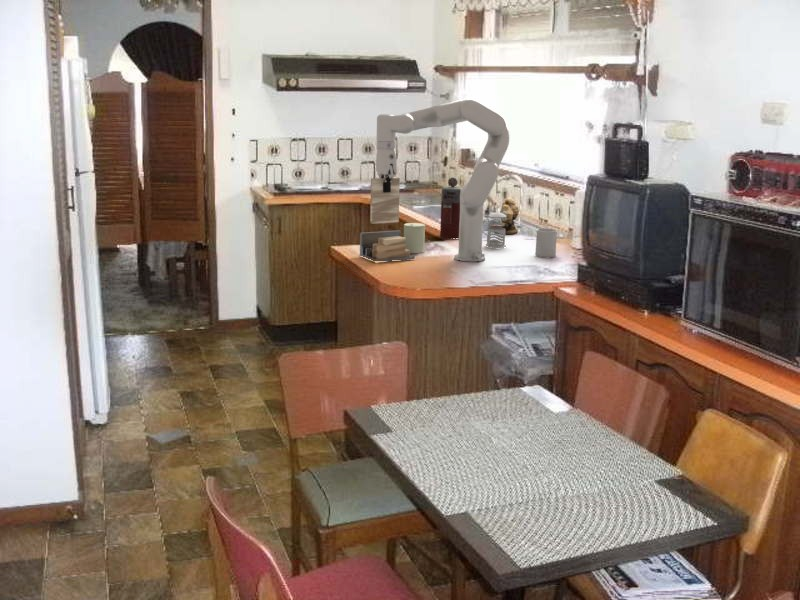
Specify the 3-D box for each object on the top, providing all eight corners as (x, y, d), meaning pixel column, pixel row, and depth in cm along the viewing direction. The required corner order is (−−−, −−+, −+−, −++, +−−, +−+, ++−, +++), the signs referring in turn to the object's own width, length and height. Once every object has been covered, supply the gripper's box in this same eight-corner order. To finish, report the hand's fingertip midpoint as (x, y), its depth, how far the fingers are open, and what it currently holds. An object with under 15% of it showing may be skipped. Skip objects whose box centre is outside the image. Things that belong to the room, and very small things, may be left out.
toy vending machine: (439, 238, 413) (441, 178, 407) (443, 235, 424) (445, 175, 417) (458, 240, 411) (460, 179, 405) (461, 236, 422) (464, 176, 415)
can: (399, 251, 380) (399, 223, 378) (409, 248, 388) (409, 221, 386) (418, 254, 376) (419, 225, 373) (428, 250, 384) (429, 223, 381)
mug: (553, 258, 374) (555, 232, 371) (533, 256, 377) (534, 230, 374) (558, 253, 385) (560, 228, 382) (539, 251, 388) (540, 226, 385)
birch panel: (398, 222, 367) (399, 178, 362) (372, 223, 361) (373, 179, 357) (396, 221, 368) (397, 177, 364) (370, 223, 363) (370, 178, 358)
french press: (507, 248, 393) (510, 192, 387) (481, 248, 393) (484, 191, 387) (505, 244, 402) (508, 189, 396) (480, 244, 403) (482, 188, 397)
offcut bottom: (409, 256, 363) (409, 250, 362) (378, 258, 357) (378, 252, 356) (402, 253, 368) (402, 247, 368) (372, 256, 362) (372, 250, 361)
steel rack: (414, 260, 364) (415, 235, 361) (375, 263, 355) (375, 238, 353) (398, 253, 376) (399, 230, 373) (359, 256, 367) (360, 232, 365)
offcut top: (405, 244, 362) (405, 237, 362) (385, 246, 356) (385, 240, 356) (398, 242, 366) (398, 236, 365) (378, 244, 360) (378, 238, 360)
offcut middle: (405, 250, 362) (405, 244, 361) (378, 252, 356) (378, 246, 356) (398, 248, 367) (399, 242, 366) (372, 250, 361) (372, 243, 361)
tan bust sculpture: (492, 228, 446) (494, 194, 442) (516, 230, 445) (518, 195, 441) (493, 234, 428) (495, 199, 424) (518, 235, 428) (520, 200, 424)
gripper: (403, 147, 352) (402, 193, 357) (385, 144, 366) (384, 189, 370) (386, 147, 349) (385, 194, 353) (368, 144, 362) (368, 190, 367)
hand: (385, 191), depth 362 cm, fingers closed on birch panel, 2 cm apart
